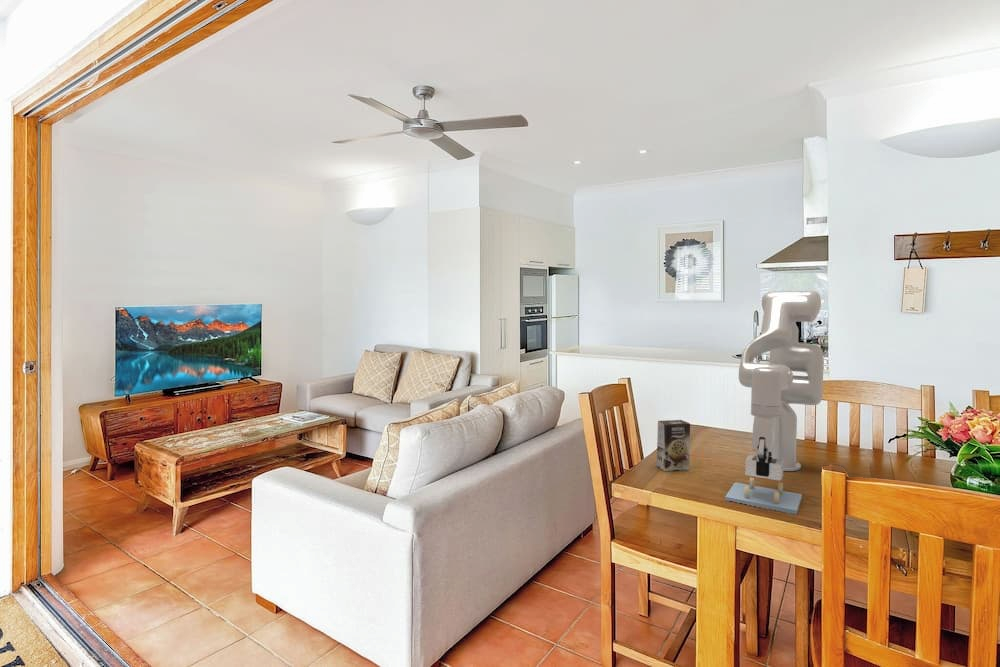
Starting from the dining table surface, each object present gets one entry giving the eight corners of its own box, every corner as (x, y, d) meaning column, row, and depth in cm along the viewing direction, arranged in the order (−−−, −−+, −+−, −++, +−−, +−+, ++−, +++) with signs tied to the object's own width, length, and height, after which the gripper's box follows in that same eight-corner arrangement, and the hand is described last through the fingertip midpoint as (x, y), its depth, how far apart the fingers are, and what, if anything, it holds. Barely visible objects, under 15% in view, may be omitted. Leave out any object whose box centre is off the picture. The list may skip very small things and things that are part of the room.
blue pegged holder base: (734, 486, 162) (735, 472, 162) (801, 498, 152) (802, 483, 151) (725, 500, 150) (725, 486, 150) (796, 514, 140) (797, 499, 140)
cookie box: (665, 471, 176) (665, 424, 175) (656, 465, 182) (656, 420, 181) (690, 470, 177) (690, 423, 176) (680, 464, 184) (681, 418, 182)
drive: (748, 469, 155) (749, 454, 155) (783, 475, 150) (783, 459, 150) (745, 474, 151) (745, 459, 150) (780, 480, 146) (780, 464, 145)
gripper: (756, 404, 158) (754, 462, 160) (745, 414, 144) (744, 478, 145) (784, 406, 154) (782, 467, 155) (776, 417, 140) (774, 483, 141)
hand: (764, 472), depth 150 cm, fingers closed on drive, 5 cm apart
